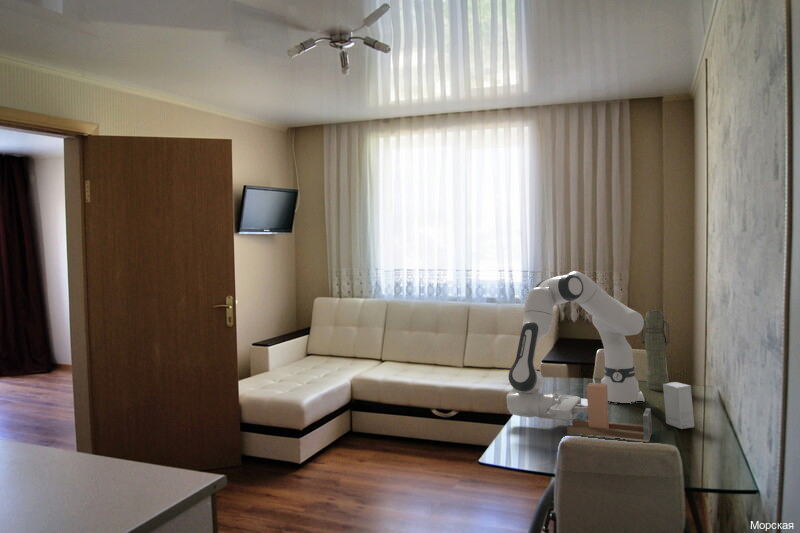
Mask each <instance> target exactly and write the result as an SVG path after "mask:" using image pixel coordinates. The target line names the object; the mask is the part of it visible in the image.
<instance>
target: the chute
mask: <svg viewBox="0 0 800 533" xmlns="http://www.w3.org/2000/svg"><path fill="white" fill-rule="evenodd" d="M651 410H652V409H651V408H649V407H645V410H644V412H643V415H642V424H639V423H638V424H637V423H636V424H634V423H625V422H624V423H623V422H614V421H609V429H605V428H594V427H589V422H588V419H579V418H578V419H577V418H576V419H575V418H572V419H571V420H572V421H571V422H572V425H570V424H569V425H567V426H566V428H567V429H566V430H567V435H570V436H571V435H573V434H582V435H593V436H600V437H599V438H603V437H605V438H606V439H612V440H613V439H615V438H620V439H619V440H623V439H625V441H626V440H627V441H636V442H637V441H638V442H646V443H649V442H650V438H651V437H652V436H651V435H652V434H653V433H652V432H653V431H652V411H651ZM582 435H581V436H582ZM615 440H616V439H615Z"/></svg>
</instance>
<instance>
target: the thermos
mask: <svg viewBox="0 0 800 533" xmlns="http://www.w3.org/2000/svg"><path fill="white" fill-rule="evenodd" d="M663 314H664V313H663V312H662V311H661V310H660V309H659V310H658V309H649V310H648V311H646V314H645V316H644V325H645V336H644V328H643V329H642V330H641V332H640V339H641V344H642V345H644V349H645V351H646V354H645V355H646V372H647V373H646V374H645V379H646V380H645V382H646V389H647V390H649V391H658V392H660V391H661V392H664V391H663V384H666V383H669V377H668V373H667V359H666V356H667V354H666V351H667V345H669V344H670V343H671V342H670V340H671V339H670V324H669V322H668V321H667V320H665V318H664V315H663ZM665 325H666V334H665V330H664V328H665Z"/></svg>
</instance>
